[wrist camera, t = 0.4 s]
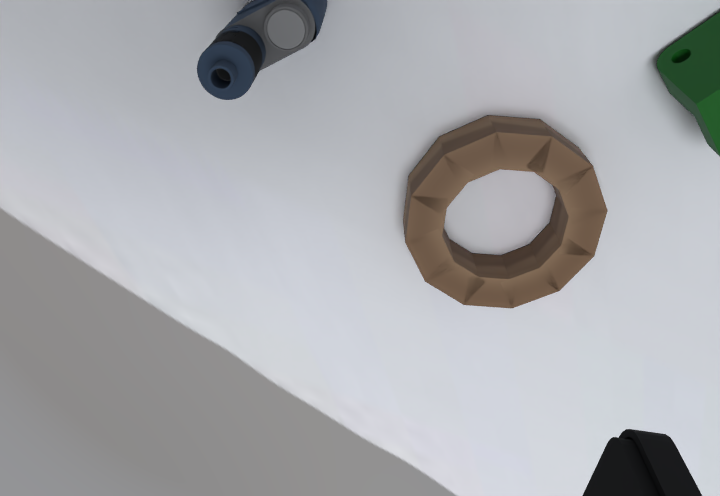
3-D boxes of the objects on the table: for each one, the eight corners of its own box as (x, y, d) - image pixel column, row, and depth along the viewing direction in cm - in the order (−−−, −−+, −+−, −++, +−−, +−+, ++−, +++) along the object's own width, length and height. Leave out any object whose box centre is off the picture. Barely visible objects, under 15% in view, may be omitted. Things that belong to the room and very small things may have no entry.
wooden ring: (396, 275, 45) (397, 300, 43) (416, 109, 39) (419, 126, 37) (565, 287, 46) (577, 313, 43) (610, 124, 40) (627, 142, 37)
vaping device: (231, 10, 37) (176, 63, 26) (313, -36, 36) (290, 2, 25) (255, 52, 38) (211, 119, 27) (335, 9, 37) (322, 63, 26)
